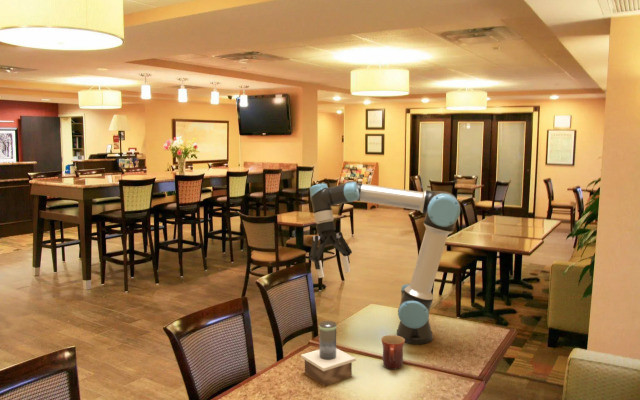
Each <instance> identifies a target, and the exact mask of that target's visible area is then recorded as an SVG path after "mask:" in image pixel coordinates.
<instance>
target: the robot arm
mask: <svg viewBox="0 0 640 400" xmlns="http://www.w3.org/2000/svg"><path fill="white" fill-rule="evenodd" d="M309 195H310V202H311V206H312V211H313V217H314V222H315V224H316V225H315V227H316V232H317V234H318V235H313V236H312V237H311V240H312V241H311V242H312V243H311V248H310V252H309V257H308V258H309V259H308V260H309V261H312V262H313V263H314V268H315V270H316V273H317V277H318V279H321V278H325V274H324V267H323V263H322V260H320V259H321V256H322V254H323V252H324V249H325V248H326V247H327V246H334V248H335V250H337V251H338V252H339V253H340V254H341V255H342V257H341V260H342V265H343V269H344V274H346V273H347V274H348V273H351V267H350V256H351V254H352V253H353V251H352V250H351V248H350V246H349V244H348V242H347V241H346V240H345V238H344V236H343V235H344V234H343V232H341V231H340V232H336V224H335V221H334V220H335V219H334V215H333V214H334V213H333V209H332V207H333V206H337V205H341V204H347V203H353V202H355V201H356V202H364V203H370V204H374V205H375V204H377V205H384V206H390V207H396V208H403V209H408V210H416V211H420V213H422V214H425V217H424V220H423V225H424V227H425V231H424V234H423V239H422V240H421V241H422V242H421V245H420V249H419V253H418V255H417V259H416V261H415V267H414V269H413V273H412V275H411V276H412V277H411V279H410V283H407V284H406V283H405V284H403V285H402V286H401V289H400V292H401V293H400V295H401V296H400V297H401V298H400V303H399V307H398V309H397V315H398V319H399V324H398V327H397V328H398V329H396V336H400V337H403V338H404V339H405V343H406V344H411V345H425V344H428V343H431V342H432V341H433V337H434V336H433V335H434V334H433V331H432V327H431V323H430V321H429V320H430V310H431V307H432V304H433V299H434V295H433V293H432V290H433V287H434V283H435V280H436V277H437V273H438V270H439V266H440V263H441V259H442V255H443V252H444V249H445V247H446V246H445V245H446V242H447V239H448V236H449V235H450V234H452V233H453V232H454V230H455V227H456V223H457V220H458V219H459V218H460V215H461V206H460V203H459V201H458V199H457V197H456V196H455V195H454V194H453V193H452V192H449V191H443V190H440V191H439V190H438V191H436V190H426V189H425V190H424V191H417V190H410V189H404V188H402V189H401V188H396V187H395V188H394V187H388V186H382V185H375V184H368V183H367V184H366V183H361V182H356V181H353V180H352V181H351V180H348V181H346V182H344V183H341V184H338V185H336V186H330V187H328V184H326V183H318V184H315V185H312V186H310V187H309ZM405 343H404V344H405Z"/></svg>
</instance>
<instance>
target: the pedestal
mask: <svg viewBox="0 0 640 400" xmlns="http://www.w3.org/2000/svg"><path fill="white" fill-rule="evenodd" d="M300 358H301V359H303V360H304V374H305V376H308V377H310V378H311V379H313V380H314V381H315V382H318V384H320V385H322V386H323V385H324V386H323V387H327V386H329V385H332V384H335V383H338V382H341V381H344V380H347V379H349V378H352V377H353V376H352V375H353V374H352V370H353V369H352V368H353V367H352V366H353V365H352V364H353V363H354V362H356V360H357V359H356V357H354V356H353V355H350V354H349V353H346V352H345V351H343V350H340V349H339V348H337V347H336V358H335V359H332V360H324V359H321V358H320V355H319V349H315V350H313V351H309V352H306V353H303V354H300Z"/></svg>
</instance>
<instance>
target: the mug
mask: <svg viewBox="0 0 640 400" xmlns="http://www.w3.org/2000/svg"><path fill="white" fill-rule="evenodd" d="M380 341H381V343H382V363H383V367H385V368H386V369H388V370H389V369H390V370H398V369H400V368H402V367H403V362H404V350H403V349H404V346H405V339H404V338H403V337H400V336H397V334H395V335H394V334H390V335H389V334H388V335H384V336H382V337H381V339H380Z"/></svg>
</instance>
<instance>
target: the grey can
mask: <svg viewBox="0 0 640 400" xmlns="http://www.w3.org/2000/svg"><path fill="white" fill-rule="evenodd" d="M337 328H338V327H337V322H335V321H333V320H324V321H320V322H319V324H318V330H319V331H318V332H319V336H318V337H319V339H318V340H319V345H318V346H319V347H318V348H319V349H318V350H319V355H320V358H321V359H324V360H332V359H335V358H336V348H337Z"/></svg>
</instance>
